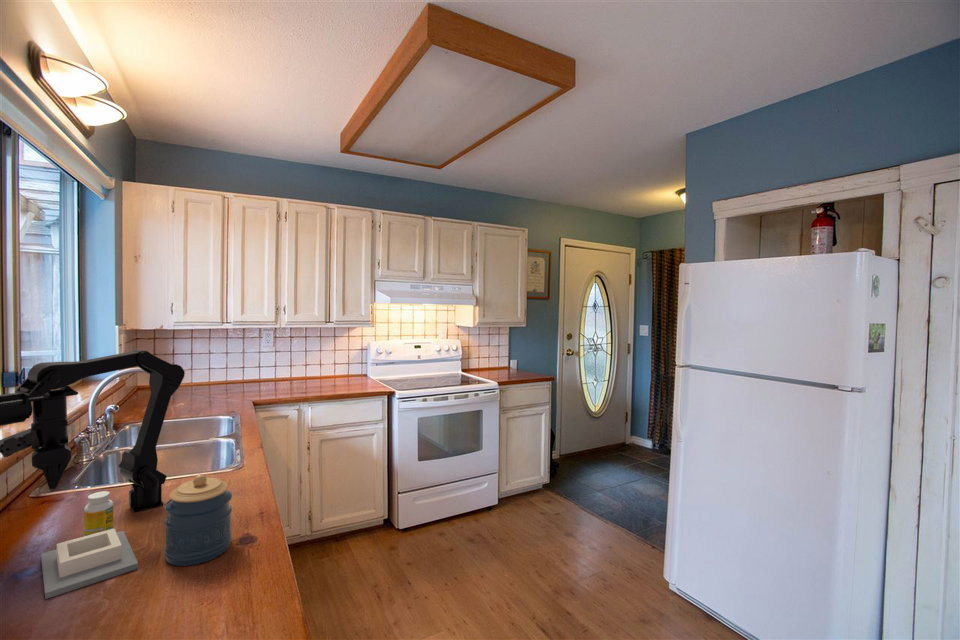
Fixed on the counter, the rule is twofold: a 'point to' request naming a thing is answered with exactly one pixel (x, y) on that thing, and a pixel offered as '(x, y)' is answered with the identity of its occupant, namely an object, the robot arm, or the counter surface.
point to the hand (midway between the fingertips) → (52, 482)
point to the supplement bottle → (98, 513)
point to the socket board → (86, 561)
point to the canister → (197, 521)
